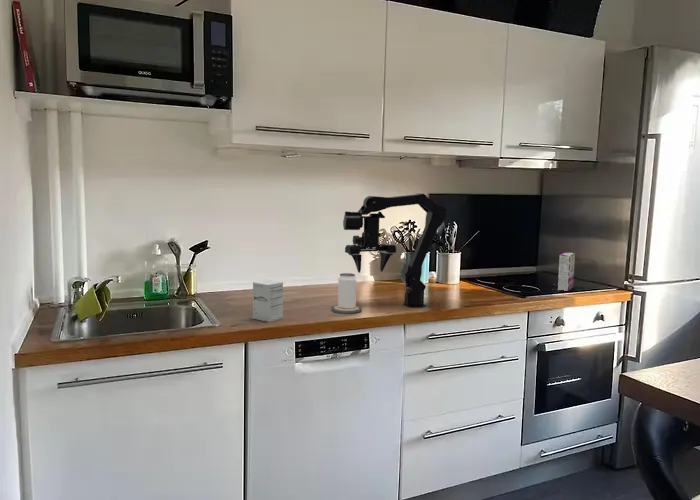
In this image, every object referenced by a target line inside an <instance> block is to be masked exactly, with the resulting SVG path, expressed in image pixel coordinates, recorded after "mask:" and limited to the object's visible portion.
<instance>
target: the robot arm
mask: <svg viewBox="0 0 700 500" xmlns="http://www.w3.org/2000/svg"><path fill="white" fill-rule="evenodd" d="M414 205H418V206H419V207H420V208H421V209H422V210H423V211H425V213H426V215H425V222H424V223H425V224H424V225H425V227H424V228H423V231H422V232H421V233H422V234H421V236H420V238H419V241H418V243H417V246H416V248H415V250H414V253H413V254H412V255H413V256H412V258H411V260H410V261H409V262H408V263H406V262H405V263H403V267H402V270H401V271H400V274H401V275H400V280H401V282H403V283H404V284H405V288H406V289H405V293H404V302H403V305H405V306H408V307H410V308H418V307H426V306H427V305H426V304H425V290H426V287H427V286H426V285H425V284H424V283H423V282H422V280H421V279H422V278H421V277H422V273H423V272H422V271H423V264H424V261H425V259H426V257H427V254H428V252H429V249H430V247H431V245H432V242H433V240H434V237H435V235H436V232H437V230H439V228H440V227H441V226H442V225H443V223H444V222H445V220H446V219H447V217H448V211H447V209H446V208H445V206H442V205H438V204H437V203H436V202H435V201H434V200H432V199H430V198H429V197H428V196H427V195H426V194H424V193H416V194H406V195H405V194H404V195H398V196H397V195H395V196H389V197H388V196H376V195H375V196H374V195H373V196H372V195H368V196H367V197H365V198H364V199H363V203H362V205H361V207H360V208H359V210H358V211H348V210H347V211H344V216H343V220H342V225H343V230H344V231H360V230H361V228H363V232H362V233H361V236H359V235H352V244H346V246H345V248H344V252H345V253H346V254H347V255H349V256H351V258H352V259H353V261H354V263H355V267H356V270H357V273H359V274H360V273H361V270H362V254H360V253H362V252H363V253H365V252H379V255H380V264H379V265H380V266H379V267H380V268H379V270H380V272H383V271H384V269H385V267H386V265H387V264H388V263H387V262H388V261H389V259H390V258H391V256H394V254H396V253H397V246H396V245H395V244H391V243H381V244H380V237H381V233H380V219H385V218H386V216H385V215H384V214H383V213H382V211H383V210H386V209H389V208H393V207H394V208H395V207H404V206H414ZM376 212H377V213H376Z"/></svg>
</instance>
